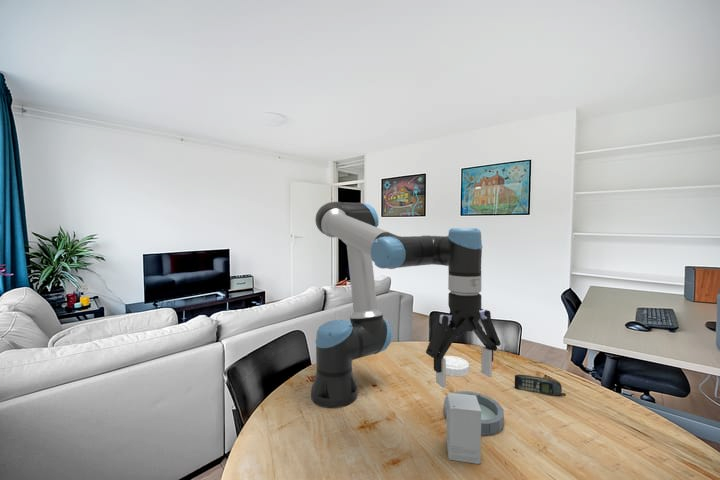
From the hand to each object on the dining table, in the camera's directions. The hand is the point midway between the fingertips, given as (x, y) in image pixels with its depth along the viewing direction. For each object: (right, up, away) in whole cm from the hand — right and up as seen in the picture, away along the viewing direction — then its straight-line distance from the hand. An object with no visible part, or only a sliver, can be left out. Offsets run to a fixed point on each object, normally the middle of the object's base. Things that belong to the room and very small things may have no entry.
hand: (464, 379), depth 74 cm
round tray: (+7, -17, +15) cm, 24 cm away
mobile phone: (+35, -17, +28) cm, 48 cm away
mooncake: (+11, -17, +45) cm, 49 cm away
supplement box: (0, -18, +1) cm, 18 cm away
